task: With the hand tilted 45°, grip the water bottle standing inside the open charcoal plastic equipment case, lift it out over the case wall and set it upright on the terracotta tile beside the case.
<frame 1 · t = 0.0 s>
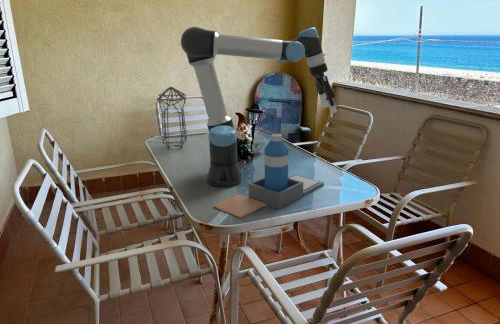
hand: (329, 110, 164), 28 cm above the table, tool tilted 20°, fingers open, 13 cm apart
chinaware: (252, 152, 199), on the table
water bottle: (275, 197, 141), resting in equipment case
geometric lantern: (175, 148, 209), on the table
terracotta tile: (239, 206, 133), on the table
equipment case: (275, 197, 141), on the table
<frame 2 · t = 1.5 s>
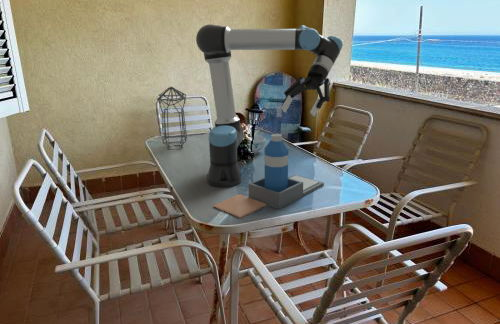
hand: (297, 112, 140), 32 cm above the table, tool tilted 45°, fingers open, 13 cm apart
nothing on the table moved.
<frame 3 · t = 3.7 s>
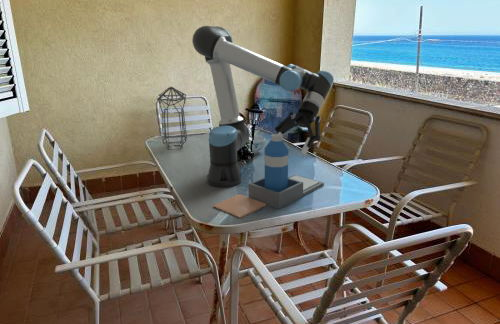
hand: (288, 150, 138), 18 cm above the table, tool tilted 45°, fingers open, 13 cm apart
nothing on the table moved.
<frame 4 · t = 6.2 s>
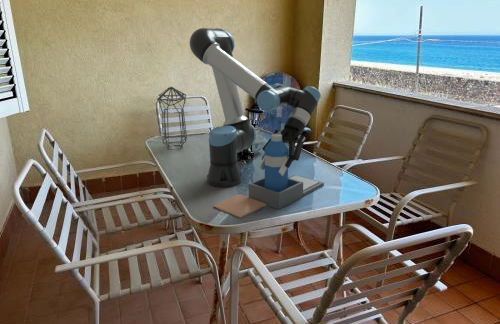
hand: (270, 171, 135), 12 cm above the table, tool tilted 45°, fingers closed on water bottle, 9 cm apart
water bottle: (275, 197, 141), resting in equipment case, touching gripper
everything else where it was.
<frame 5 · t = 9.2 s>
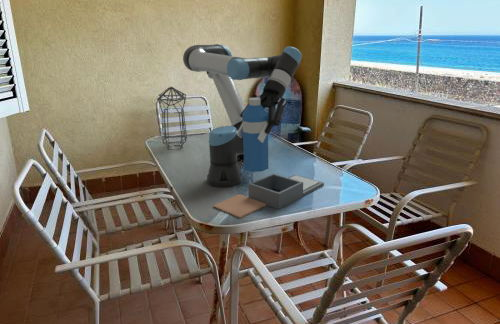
hand: (249, 138, 125), 26 cm above the table, tool tilted 45°, fingers closed on water bottle, 9 cm apart
water bottle: (256, 167, 131), point 14 cm above the table, touching gripper
everything else where it was.
when the fingers open (14 cm above the table, at t = 12.6 s): water bottle drops 1 cm, resting on terracotta tile.
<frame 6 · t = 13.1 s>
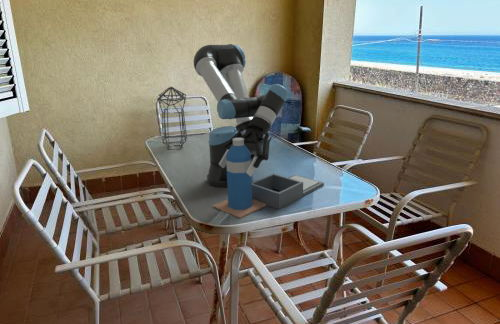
hand: (234, 170, 127), 15 cm above the table, tool tilted 45°, fingers open, 13 cm apart
water bottle: (240, 205, 133), resting on terracotta tile
everything else where it was.
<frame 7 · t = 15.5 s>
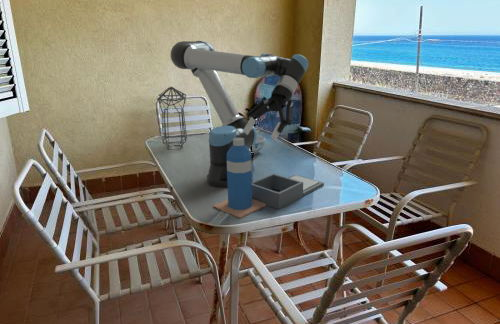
hand: (258, 136, 133), 25 cm above the table, tool tilted 45°, fingers open, 13 cm apart
nothing on the table moved.
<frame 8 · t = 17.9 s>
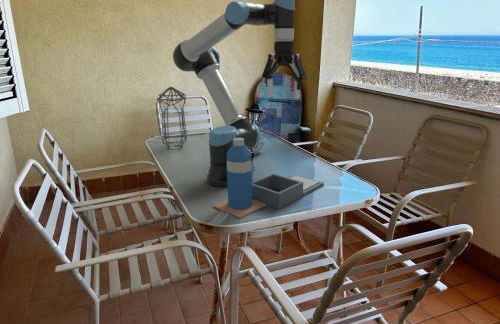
hand: (283, 96, 144), 37 cm above the table, tool pointing down, fingers open, 13 cm apart
nothing on the table moved.
at the end: water bottle inside the target area on the terracotta tile (0.1 cm from its centre), point 0.4 cm above the terracotta tile's base; water bottle tilted 0°; the gripper is holding nothing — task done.
